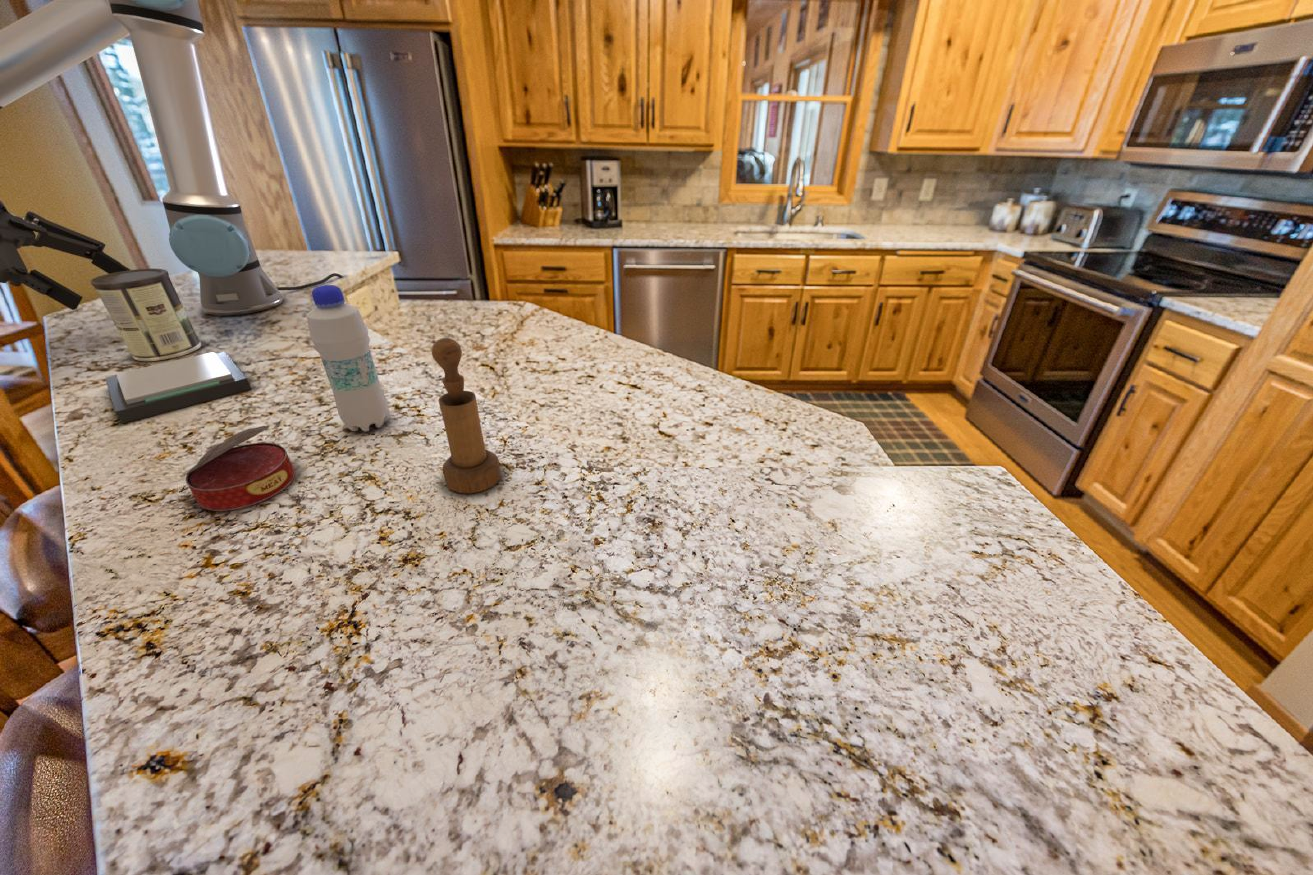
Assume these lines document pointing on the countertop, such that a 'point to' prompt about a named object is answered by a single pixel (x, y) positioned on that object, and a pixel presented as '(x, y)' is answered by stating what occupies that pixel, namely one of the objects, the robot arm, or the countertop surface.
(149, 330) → the coffee can
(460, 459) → the mortar and pestle
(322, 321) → the bottle
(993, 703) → the countertop surface
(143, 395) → the scale
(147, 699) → the countertop surface
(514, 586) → the countertop surface
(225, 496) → the canned food
